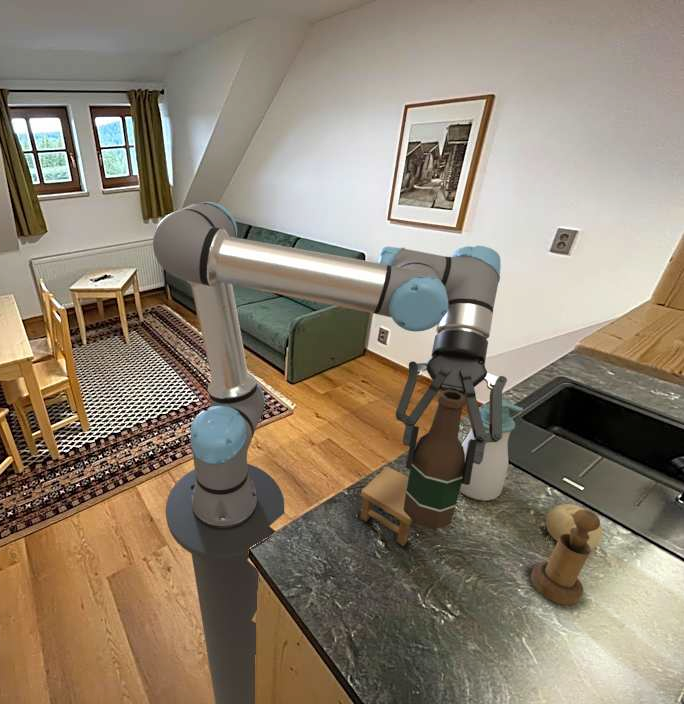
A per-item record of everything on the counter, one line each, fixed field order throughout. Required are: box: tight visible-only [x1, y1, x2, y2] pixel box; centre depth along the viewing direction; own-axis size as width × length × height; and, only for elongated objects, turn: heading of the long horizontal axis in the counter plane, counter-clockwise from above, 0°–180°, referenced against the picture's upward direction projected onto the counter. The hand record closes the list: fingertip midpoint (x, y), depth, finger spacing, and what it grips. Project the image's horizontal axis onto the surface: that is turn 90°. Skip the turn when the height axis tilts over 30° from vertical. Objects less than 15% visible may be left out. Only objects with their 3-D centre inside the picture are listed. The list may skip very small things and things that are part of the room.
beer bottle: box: [404, 390, 466, 531], centre depth 63 cm, size 8×8×24 cm
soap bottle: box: [459, 398, 524, 502], centre depth 85 cm, size 10×10×23 cm
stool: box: [359, 465, 413, 547], centre depth 82 cm, size 10×10×8 cm
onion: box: [544, 503, 603, 550], centre depth 75 cm, size 8×8×8 cm
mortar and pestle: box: [530, 508, 601, 607], centre depth 65 cm, size 7×6×18 cm
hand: (436, 475), depth 61 cm, fingers closed on beer bottle, 7 cm apart
